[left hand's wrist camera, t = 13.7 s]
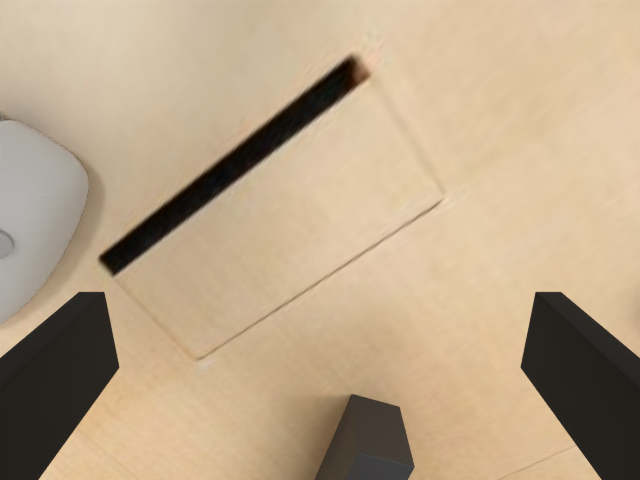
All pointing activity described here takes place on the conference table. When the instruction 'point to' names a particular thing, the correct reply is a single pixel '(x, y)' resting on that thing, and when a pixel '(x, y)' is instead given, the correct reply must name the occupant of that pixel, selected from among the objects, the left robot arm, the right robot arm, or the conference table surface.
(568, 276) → the conference table surface
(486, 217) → the conference table surface
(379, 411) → the bar
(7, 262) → the projector
